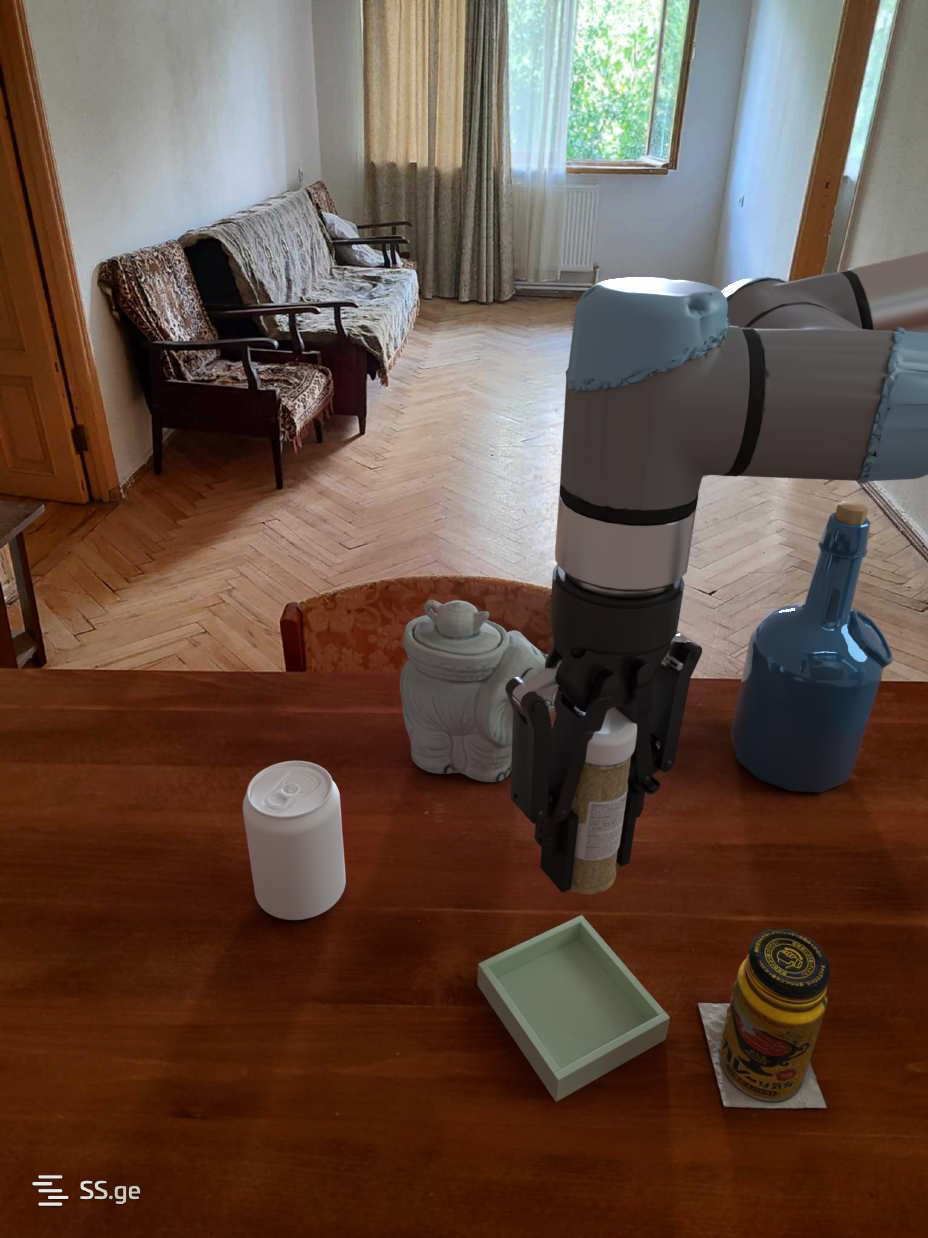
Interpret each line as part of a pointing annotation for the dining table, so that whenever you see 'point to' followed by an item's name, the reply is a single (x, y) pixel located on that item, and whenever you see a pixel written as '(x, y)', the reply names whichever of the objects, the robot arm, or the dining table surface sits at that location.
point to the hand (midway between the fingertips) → (585, 864)
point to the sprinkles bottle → (602, 803)
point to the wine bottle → (813, 672)
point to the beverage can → (295, 840)
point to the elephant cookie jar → (463, 690)
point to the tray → (571, 1006)
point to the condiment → (770, 1024)
